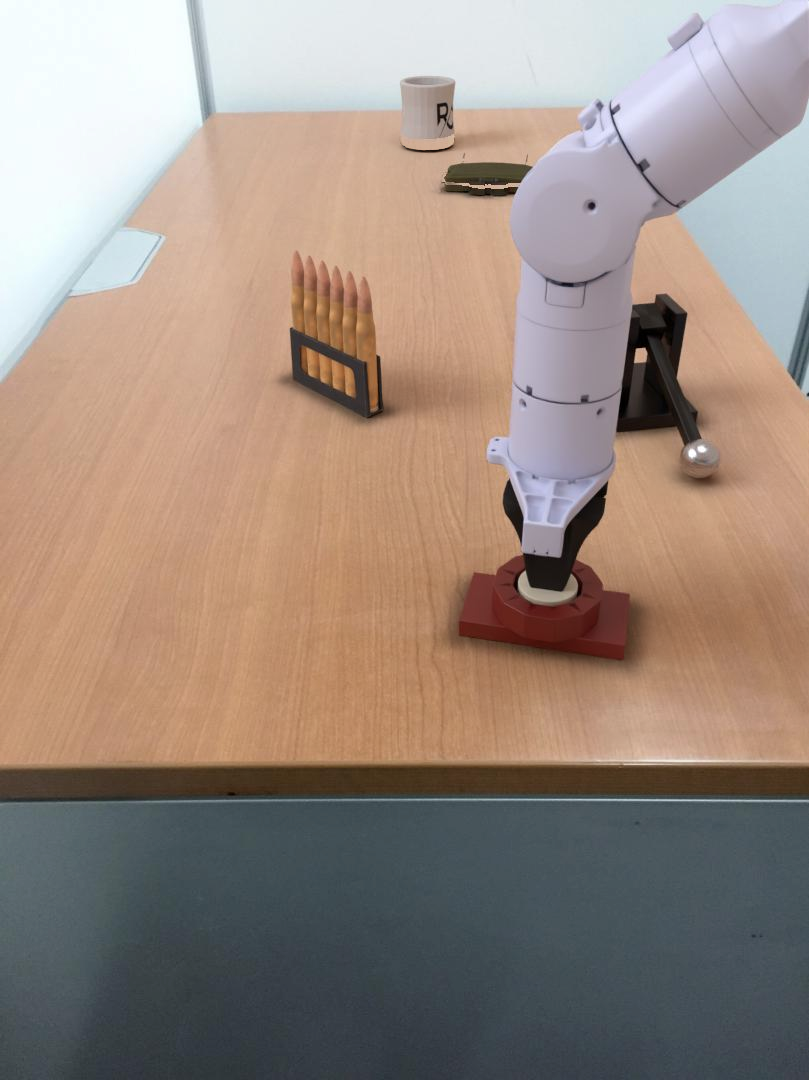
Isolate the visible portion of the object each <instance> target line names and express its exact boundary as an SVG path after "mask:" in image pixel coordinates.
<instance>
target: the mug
mask: <svg viewBox="0 0 809 1080" xmlns="http://www.w3.org/2000/svg"><path fill="white" fill-rule="evenodd" d="M399 85H400V96H401V126H400V136H401V135H403V136H405V137H407V138H413V139H437V138H445V137H448V136H451V135H452V134H454V132H455V124H454V123H455V122H454V98H455V90H456V79H454V78H452V77H447V76H440V75H418V76H417V75H416V76H409V77H405V78H403V79H401V80H400V81H399Z"/></svg>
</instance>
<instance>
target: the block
mask: <svg viewBox="0 0 809 1080" xmlns="http://www.w3.org/2000/svg"><path fill="white" fill-rule="evenodd" d="M524 571H526V570H525V564H524V558H523V554H520V555H516V556H513V557H512V558H511V559H509V560H508V561H506V562H505V563H504V564H502V565H500V566H499V567H498V568H497V570H496V574H491V573H490V574H489V573H484V572H483V573H482V572H475V571H474V572H473V573H472V577H471V580H470V583H469V587H468V589H467V593H466V595H465V599H464V602H463V606H462V609H461V613H460V614H459V615H460V616H459V619H458V635H459V636H464V637H470V638H476V639H482V640H489V641H495V642H503V643H509V644H514V645H515V644H516V645H523V646H529V647H535V648H542V649H548V650H554V651H561V652H569V653H575V654H581V655H586V656H587V655H588V656H595V657H601V658H606V659H607V658H608V659H615V660H621V661H623V660H624V657H625V651H626V644H627V632H628V621H629V611H630V599H631V594H630V593H627V592H618V591H612V590H605V589H603V588H604V587H603V586H604V583H603V581H602V580H601V578H600V577H599V576H598V574H597V573H596V572H595V570H594V569H593V567H592V566H590V565H588V564H586V563H584V562H582V561H581V560H578V559H576V560H575V563H574V566H573V569H572V572H571V574H572V575H573V576H574V577H575V579H576V581H577V583H578V590H577V598H576V599H575V600H574V601H572V602H571V603H568V604H563V605H558V606H553V607H552V606H545V605H539V604H533V603H532V602H530V601H528V600H526V599H524V598H522V597H521V596H519V595H518V593H517V592H518V580H519V577H520V576H521V574H522V573H523V572H524Z"/></svg>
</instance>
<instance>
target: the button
mask: <svg viewBox="0 0 809 1080" xmlns="http://www.w3.org/2000/svg"><path fill="white" fill-rule="evenodd" d="M577 590H578V583H577V581H576V579H575V577H574V576H573V575H572V574H571V575H570V578H569V580H568V583H567V585H566V587H565V589H564V590H563V591H562V592H559V591H552V590H544V589H537V588H531V587H530V585H529V582H528V579H527V575H526V571H524V572H523V573H522V574H521V576H520V577H519V580H518V592H517V593H518V595H519V596H521V597H522V598H524V599H526V600H528V601H530V602H532V603H533V604H539V605H545V606H552V607H553V606H558V605H563V604H568V603H571V602H572V601H574V600H575V599H576V598H577Z"/></svg>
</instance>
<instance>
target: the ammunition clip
mask: <svg viewBox="0 0 809 1080" xmlns="http://www.w3.org/2000/svg"><path fill="white" fill-rule="evenodd" d="M290 269H291V270H290V275H291V296H290V297H291V298H290V308H291V318H292V326H291V327H289V336H290V337H289V339H290V341H289V342H290V356H291V357H290V358H291V367H292V368H291V372H292V381H293V380H294V381H295V382H297V383H299V384H301V385H303V386H305V387H307V388H309V389H311V390H312V391H315V392H316V393H318V394H319V395H320V394H321V395H322V396H324V397H326V398H328V399H330V400H332V401H334V402H335V403H337V404H339V405H341V406H343V407H345V408H347V409H349V410H351V411H353V412H355V413H357V414H359V415H361V416H362V417H365V418H366V419H367V418H370V417H371V416H374V415H376V414H379V413H380V412H382V411H384V399H383V381H382V361H381V355H378V354H377V334H376V332H377V331H376V325H375V321H374V311H373V302H372V301H373V300H372V294H371V289H370V286H369V282H368V280H367V278H366V277H365V276H361V279H360V281H359V284H358V289H357V284H356V283H357V282H356V280H355V278H354V277H355V276H354V274H353V272H352V271H350V270H349V271H348V272H347V273H346V275H345V279H344V281H343V277H342V274H341V271H340V268H339V267H338V266H337V265H334V266H333V268H332V272H331V276H330V273H329V270H328V267H327V264H326V262H325V261H324V260H321V261H320V263H319V265H318V270H317V269H316V265H315V261H314V259H313V258H312V256H311V255H307V257H306V260H305V264H303V260H302V257H301V255H300V253H299V251H298V250H295V251H294V252H293V255H292V260H291V267H290Z"/></svg>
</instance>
